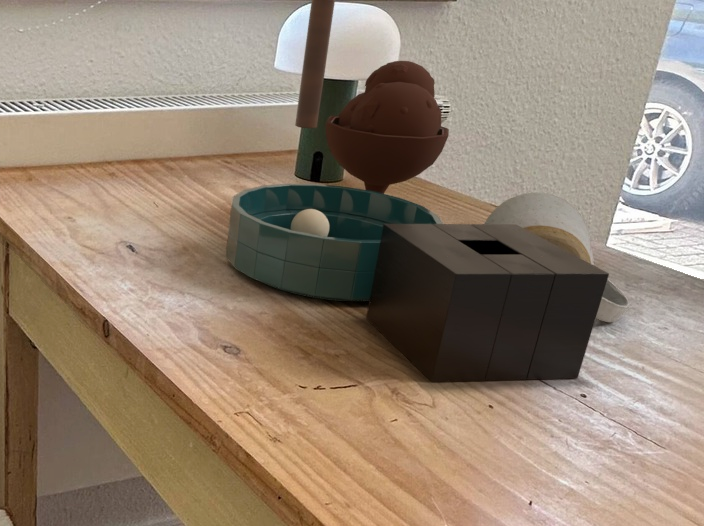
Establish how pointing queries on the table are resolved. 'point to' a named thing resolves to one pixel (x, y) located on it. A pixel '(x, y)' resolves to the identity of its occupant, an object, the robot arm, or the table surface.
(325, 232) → the dough ball
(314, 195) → the bowl
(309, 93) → the stick
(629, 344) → the table surface
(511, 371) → the holder
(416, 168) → the ice cream bowl
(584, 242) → the ceramic mug
